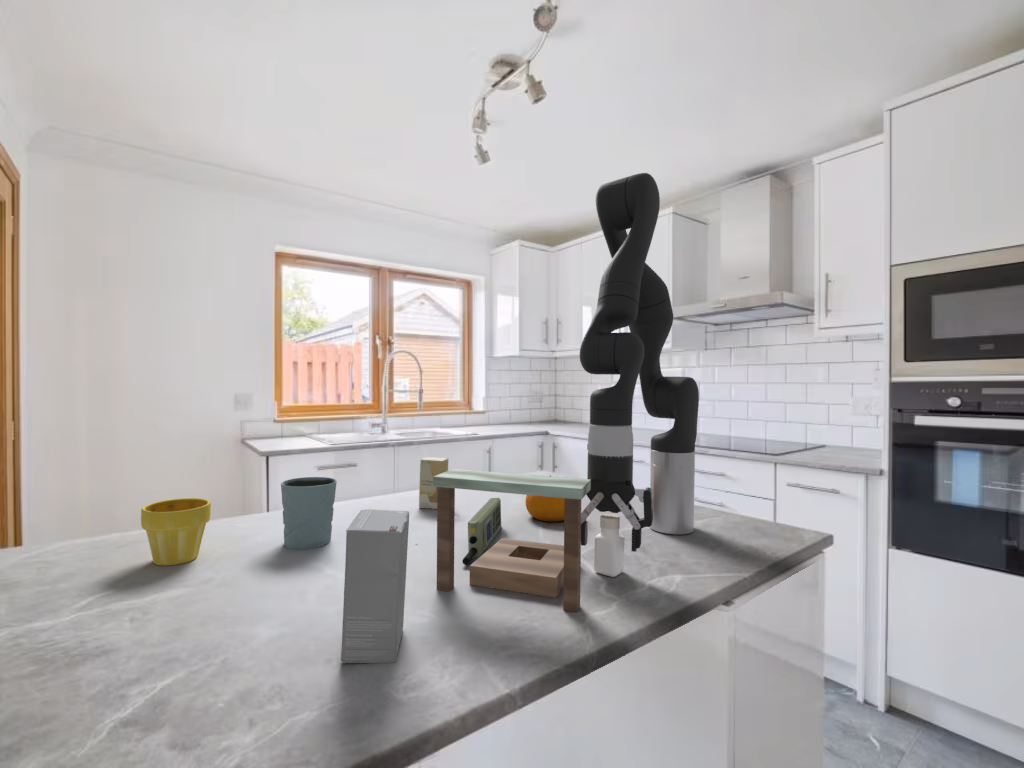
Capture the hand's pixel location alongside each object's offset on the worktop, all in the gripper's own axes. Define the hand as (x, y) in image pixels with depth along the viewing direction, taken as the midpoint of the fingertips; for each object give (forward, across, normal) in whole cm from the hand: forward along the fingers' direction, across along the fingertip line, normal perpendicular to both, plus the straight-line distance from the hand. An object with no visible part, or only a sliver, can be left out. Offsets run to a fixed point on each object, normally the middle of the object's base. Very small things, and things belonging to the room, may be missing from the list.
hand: (608, 547), depth 87 cm
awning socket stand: (+4, +13, +8) cm, 16 cm away
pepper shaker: (+4, 0, 0) cm, 4 cm away
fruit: (+4, +18, -29) cm, 34 cm away
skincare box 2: (+4, +48, -28) cm, 56 cm away
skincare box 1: (+5, +23, +34) cm, 41 cm away
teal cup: (+5, +58, +5) cm, 58 cm away
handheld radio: (+5, +25, -6) cm, 27 cm away
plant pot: (+5, +73, +21) cm, 76 cm away
